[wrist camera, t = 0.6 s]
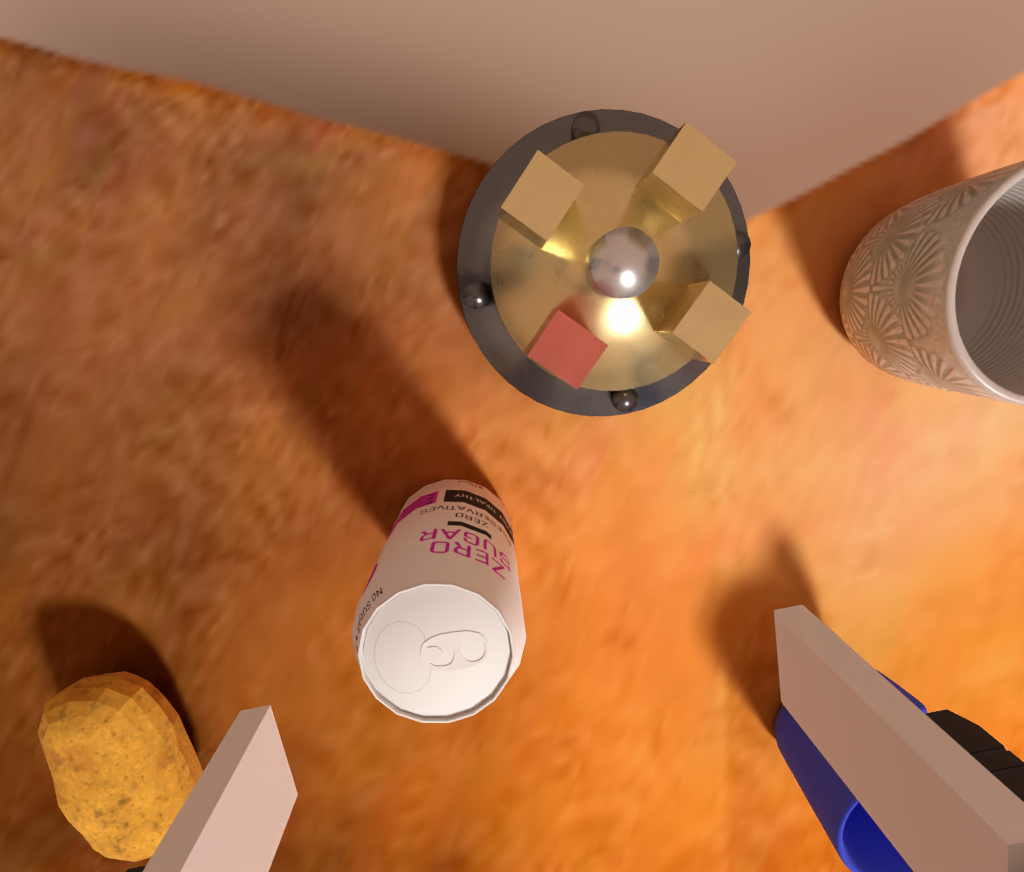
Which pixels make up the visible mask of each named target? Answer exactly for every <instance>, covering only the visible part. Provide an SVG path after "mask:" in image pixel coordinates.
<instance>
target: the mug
mask: <svg viewBox="0 0 1024 872" xmlns="http://www.w3.org/2000/svg"><path fill="white" fill-rule="evenodd" d="M875 670H876V669H875ZM876 671H877V670H876ZM877 672H879V671H877ZM879 673H880V672H879ZM880 674H881V675H882V676H883V677H884V678H885V679H886V680H888V681H889V682H890V683H891V684H892V685H893V686H894V687H895V688H896V689H898V690H899V691H900V692H901V693H902V694H903V695H904V696H905V697H907V698H908V699H909V700H910V701H911V702H912V703H913V704H914V705H915V706H917V707H918V708H919V709H920V710H921V711H922V712H923V713H924V714H926V713H927V710H926V708H925V706H924V705H923V704H922V703H921V702H920V701H918V700H917V699H916V698H915V697H913V696H912V695H911V694H909V693H908V692H907V691H905V690H904V689H903V688H901V687H900V686H899V685H897V684H896V683H895V682H893V681H892V680H891V679H889V678H888V677H886V676H885V675H883V674H882V673H880ZM775 736H776V740H777V744H778V747H779V749H780V751H781V753H782V755H783V757H784V759H785V761H786V763H787V764H788V766H789V768H790V770H791V771H792V773H793V775H794V777H795V778H796V780H797V782H798V784H799V786H800V787H801V789H802V791H803V793H804V794H805V796H806V798H807V800H808V801H809V803H810V805H811V807H812V808H813V810H814V812H815V814H816V816H817V817H818V819H819V821H820V823H821V824H822V826H823V828H824V830H825V831H826V833H827V835H828V837H829V839H830V840H831V842H832V844H833V846H834V847H835V849H836V851H837V853H838V854H839V856H840V858H841V860H842V861H843V862H844V864H845V865H846V866H847V867H848V868H849V869H850V870H851V871H852V872H913V870H912V869H911V868H910V866H909V865H908V864H907V863H906V861H905V860H904V859H903V857H902V856H901V855H900V854H899V852H898V851H897V850H896V849H895V847H894V846H893V845H892V843H891V842H890V841H889V840H888V838H887V837H886V836H885V834H884V833H883V832H882V831H881V829H880V828H879V827H878V825H877V824H876V823H875V822H874V820H873V819H872V818H871V816H870V815H869V814H868V813H867V811H866V810H865V809H864V807H863V806H862V805H861V804H860V802H859V801H858V800H857V798H856V797H855V796H854V795H853V793H852V792H851V791H850V790H849V788H848V787H847V786H846V784H845V783H844V782H843V781H842V779H841V778H840V777H839V775H838V774H837V773H836V772H835V770H834V769H833V768H832V766H831V765H830V764H829V763H828V761H827V760H826V759H825V757H824V756H823V755H822V754H821V752H820V751H819V750H818V748H817V747H816V746H815V745H814V743H813V742H812V741H811V739H810V738H809V737H808V736H807V734H806V733H805V732H804V731H803V729H802V728H801V727H800V725H799V724H798V723H797V722H796V720H795V719H794V718H793V716H792V715H791V714H790V713H789V711H788V710H787V709H786V707H785V706H784V705H783V706H782V708H781V709H780V711H779V713H778V715H777V718H776V723H775Z"/></svg>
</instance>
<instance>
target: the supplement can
mask: <svg viewBox="0 0 1024 872" xmlns="http://www.w3.org/2000/svg"><path fill="white" fill-rule="evenodd" d="M352 640H353V645H354V650H355V654H356V659H357V663H358V665H359V666H360V668H361V672H362V677H363V679H364V681H365V682H366V684H367V685H368V687H369V688H370V690H371V692H372V693H373V695H374V696H375V698H376V699H377V700H378V701H380V702H381V703H382V704H384V705H385V706H386V707H388V708H389V709H390V710H392V711H393V712H394V713H396V714H397V715H400V716H403V717H406V718H409V719H412V720H415V721H418V722H422V723H450V722H453V721H457V720H460V719H463V718H466V717H470V716H473V715H475V714H476V713H478V712H479V711H480V710H482V709H483V708H485V707H486V706H488V705H489V704H490V703H492V702H493V701H495V699H496V698H497V696H498V695H499V694H500V692H501V691H502V689H503V688H504V686H505V685H506V684H507V682H508V681H509V679H510V677H511V676H512V675H513V673H514V672H515V670H516V669H517V667H518V666H519V665H520V661H521V657H522V653H523V649H524V645H525V641H526V633H525V625H524V617H523V610H522V602H521V594H520V586H519V579H518V571H517V563H516V555H515V548H514V540H513V532H512V525H511V518H510V516H509V514H508V513H507V511H506V509H505V507H504V505H503V503H502V502H501V500H500V499H498V498H497V497H496V496H495V495H494V494H493V493H491V492H490V491H489V490H488V489H487V488H486V487H483V486H481V485H478V484H475V483H473V482H470V481H468V480H453V479H444V480H441V481H438V482H435V483H431V484H428V485H425V486H424V487H422V488H421V489H420V490H418V491H417V492H416V493H414V494H413V495H412V496H411V497H409V498H408V500H407V501H406V503H405V504H404V506H403V508H402V509H401V511H400V512H399V514H398V516H397V518H396V520H395V523H394V525H393V527H392V529H391V532H390V534H389V536H388V538H387V541H386V543H385V545H384V547H383V550H382V552H381V554H380V556H379V559H378V561H377V563H376V565H375V568H374V570H373V572H372V574H371V577H370V579H369V581H368V583H367V586H366V588H365V590H364V593H363V595H362V597H361V599H360V602H359V604H358V606H357V609H356V614H355V619H354V625H353V630H352Z"/></svg>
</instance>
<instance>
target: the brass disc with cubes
mask: <svg viewBox="0 0 1024 872" xmlns="http://www.w3.org/2000/svg"><path fill="white" fill-rule="evenodd" d="M736 163H737V162H736V161H735V160H733V159H732V158H731V157H730V156H728V155H727V154H726V153H725V152H724V151H722V150H721V149H720V148H719V147H717V146H716V145H715V144H714V143H713V142H711V141H710V140H709V139H708V138H706V137H705V136H704V135H703V134H701V133H700V132H699V131H698V130H696V129H695V128H694V127H693V126H692V125H690V124H689V123H688V122H686V123H685V124H684V125H683V126H682V127H681V128H680V129H679V130H678V131H677V132H676V133H674V134H673V135H672V136H671V137H670V138H669V139H668V140H667V141H664V140H661V139H658V138H655V137H652V136H649V135H645V134H640V133H634V132H617V131H612V132H604V133H596V134H592V135H588V136H584V137H581V138H578V139H576V140H573V141H571V142H568V143H566V144H564V145H562V146H560V147H559V148H557V149H555V150H554V151H552V152H550V153H549V154H547V155H546V156H545V155H544V154H543V153H542V152H540V151H539V150H537V152H536V154H535V155H534V157H533V158H532V160H531V161H530V163H529V164H528V166H527V168H526V169H525V171H524V172H523V174H522V175H521V177H520V178H519V180H518V182H517V183H516V185H515V186H514V188H513V189H512V191H511V192H510V194H509V195H508V197H507V199H506V200H505V202H504V203H503V205H502V206H501V210H500V217H499V220H498V223H497V227H496V231H495V234H494V238H493V245H492V253H491V285H492V292H493V296H494V300H495V304H496V308H497V310H498V313H499V315H500V318H501V320H502V323H503V324H504V326H505V328H506V330H507V332H508V333H509V335H510V336H511V338H512V339H513V341H514V342H515V343H516V345H517V346H518V347H519V348H520V349H521V350H522V351H523V352H524V353H525V354H526V356H527V357H528V358H530V359H531V360H532V361H533V362H534V363H536V364H537V365H538V366H539V367H541V368H542V369H543V370H544V371H546V372H548V373H549V374H551V375H553V376H555V377H556V378H558V379H560V380H563V381H565V382H567V383H568V384H570V385H571V386H573V387H574V388H576V389H578V388H579V387H583V388H587V389H594V390H601V391H619V390H627V389H634V388H637V387H641V386H645V385H649V384H651V383H654V382H656V381H659V380H661V379H663V378H665V377H667V376H669V375H670V374H672V373H674V372H676V371H677V370H679V369H680V368H681V367H683V366H684V365H685V364H687V363H688V362H689V361H690V360H692V359H694V360H699V361H704V362H709V363H714V362H715V361H716V359H717V358H718V357H719V355H720V354H721V353H722V351H723V350H724V349H725V347H726V346H727V344H728V343H729V342H730V340H731V339H732V338H733V336H734V335H735V334H736V332H737V331H738V330H739V328H740V327H741V326H742V324H743V323H744V321H745V320H746V319H747V317H748V316H749V315H750V313H751V312H750V311H749V310H748V309H746V308H745V307H744V306H742V305H741V304H740V303H739V302H737V301H736V300H735V299H733V298H732V295H733V291H734V286H735V281H736V276H737V265H738V250H737V239H736V233H735V227H734V223H733V220H732V217H731V213H730V210H729V208H728V206H727V203H726V201H725V199H724V197H723V195H722V193H721V191H720V190H719V187H720V186H721V185H722V183H723V182H724V180H725V179H726V177H727V176H728V175H729V173H730V172H731V170H732V169H733V167H734V166H735V165H736ZM619 227H634V228H637V229H640V230H642V231H643V232H645V233H646V234H647V235H649V236H650V238H651V239H652V240H653V241H654V243H655V245H656V247H657V250H658V253H659V269H658V273H657V276H656V278H655V280H654V281H653V283H652V284H651V286H650V287H649V288H648V289H647V290H646V291H644V292H643V293H641V294H640V295H637V296H635V297H632V298H626V299H618V300H612V299H607V298H604V297H602V296H600V295H599V294H597V293H596V292H595V291H594V290H593V289H592V288H591V286H590V285H589V283H588V281H587V279H586V275H585V259H586V255H587V253H588V251H589V249H590V247H591V246H592V245H593V244H594V243H595V242H596V241H597V240H598V239H599V238H600V237H602V236H603V235H605V234H606V233H608V232H609V231H611V230H613V229H616V228H619Z"/></svg>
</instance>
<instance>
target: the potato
mask: <svg viewBox="0 0 1024 872" xmlns="http://www.w3.org/2000/svg"><path fill="white" fill-rule="evenodd" d="M38 735H39V738H40V742H41V745H42V748H43V751H44V754H45V757H46V760H47V763H48V765H49V768H50V771H51V774H52V777H53V782H54V786H55V791H56V796H57V801H58V806H59V807H60V809H61V810H62V812H63V814H64V815H65V817H66V818H67V820H68V821H69V823H71V824H72V825H73V826H74V827H75V828H76V829H77V830H78V831H79V832H80V833H81V834H82V835H83V836H84V837H85V839H86V840H87V841H88V843H89V844H90V845H91V846H92V848H93V849H94V850H96V851H97V852H99V853H100V854H102V855H103V856H105V857H106V858H112V859H120V860H127V861H134V862H136V861H139V860H142V859H146V858H149V857H151V856H152V855H153V854H154V852H155V850H156V849H157V847H158V846H159V844H160V842H161V841H162V839H163V837H164V836H165V834H166V832H167V831H168V829H169V827H170V826H171V824H172V823H173V821H174V819H175V818H176V816H177V814H178V813H179V811H180V809H181V808H182V806H183V804H184V803H185V801H186V800H187V798H188V796H189V795H190V793H191V791H192V790H193V788H194V786H195V785H196V783H197V781H198V780H199V778H200V777H201V775H202V773H203V770H202V767H201V764H200V762H199V759H198V757H197V754H196V752H195V750H194V748H193V745H192V743H191V741H190V739H189V737H188V735H187V733H186V730H185V728H184V726H183V724H182V721H181V719H180V717H179V715H178V714H177V712H176V711H175V709H174V708H173V707H172V705H171V704H170V703H169V701H168V700H167V699H166V697H165V696H164V695H163V694H162V693H161V692H160V691H159V690H158V689H157V688H156V687H155V686H154V685H153V684H152V683H151V682H150V681H148V680H145V679H143V678H141V677H140V676H138V675H136V674H132V673H129V672H126V671H122V672H115V673H107V674H101V675H95V676H90V677H84V678H82V679H80V680H79V681H77V682H75V683H74V684H72V685H70V686H68V687H67V688H65V689H63V690H62V691H60V692H58V693H57V694H56V695H54V696H53V697H52V698H50V699H49V700H47V701H46V702H45V707H44V711H43V715H42V719H41V723H40V727H39V731H38Z"/></svg>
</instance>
